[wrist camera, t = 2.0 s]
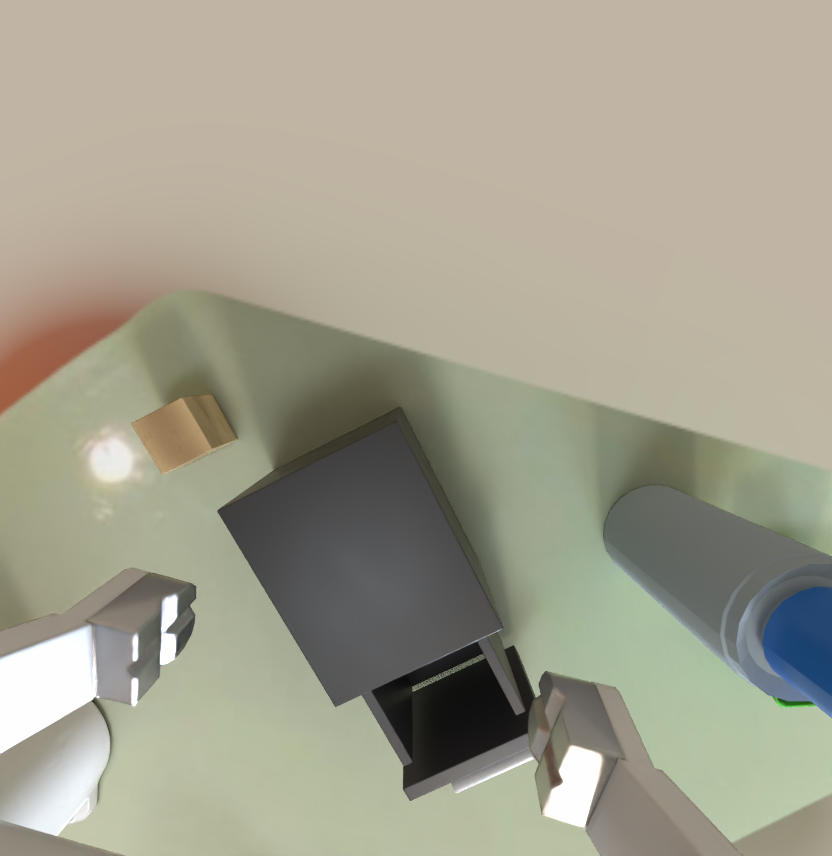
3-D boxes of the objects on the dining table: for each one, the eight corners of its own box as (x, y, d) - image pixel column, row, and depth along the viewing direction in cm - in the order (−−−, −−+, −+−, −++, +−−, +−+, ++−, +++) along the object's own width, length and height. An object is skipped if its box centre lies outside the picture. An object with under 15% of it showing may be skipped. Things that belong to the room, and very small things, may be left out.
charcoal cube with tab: (477, 557, 36) (503, 629, 26) (355, 615, 37) (335, 707, 26) (400, 406, 34) (396, 420, 24) (273, 470, 35) (216, 510, 24)
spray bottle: (709, 493, 36) (1398, 763, 11) (683, 582, 37) (1252, 1010, 12) (616, 477, 35) (1108, 720, 10) (593, 568, 36) (987, 980, 12)
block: (194, 461, 34) (162, 475, 30) (167, 417, 34) (130, 423, 29) (238, 439, 34) (212, 449, 30) (211, 393, 34) (181, 396, 29)
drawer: (537, 691, 37) (574, 782, 29) (429, 740, 38) (435, 844, 29) (451, 523, 35) (465, 570, 26) (337, 579, 35) (315, 642, 27)
